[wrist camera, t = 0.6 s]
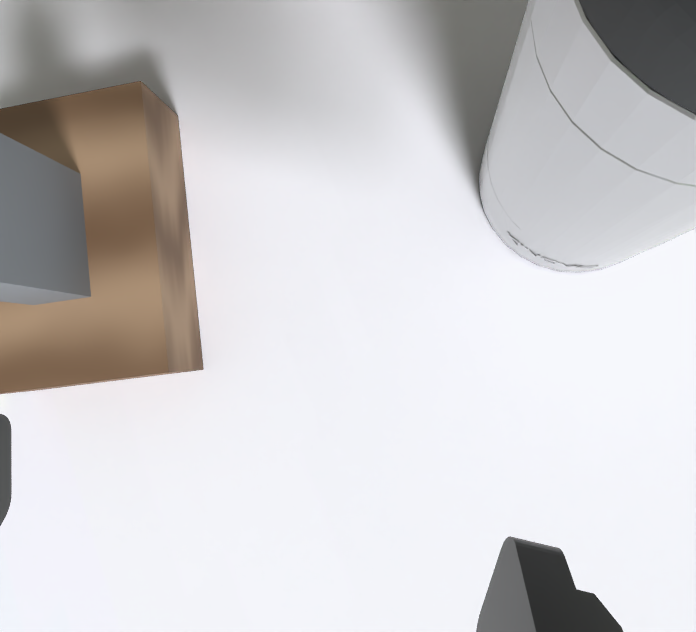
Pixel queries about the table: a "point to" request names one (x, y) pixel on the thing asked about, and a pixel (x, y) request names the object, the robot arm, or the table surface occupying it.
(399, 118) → the table surface
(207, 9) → the table surface
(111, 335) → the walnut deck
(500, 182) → the robot arm
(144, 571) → the table surface
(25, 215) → the tall gray post
